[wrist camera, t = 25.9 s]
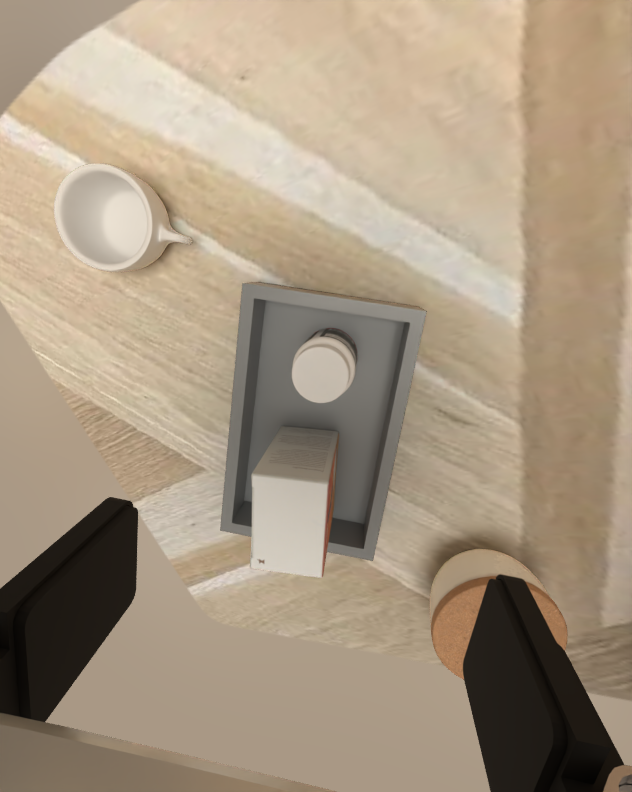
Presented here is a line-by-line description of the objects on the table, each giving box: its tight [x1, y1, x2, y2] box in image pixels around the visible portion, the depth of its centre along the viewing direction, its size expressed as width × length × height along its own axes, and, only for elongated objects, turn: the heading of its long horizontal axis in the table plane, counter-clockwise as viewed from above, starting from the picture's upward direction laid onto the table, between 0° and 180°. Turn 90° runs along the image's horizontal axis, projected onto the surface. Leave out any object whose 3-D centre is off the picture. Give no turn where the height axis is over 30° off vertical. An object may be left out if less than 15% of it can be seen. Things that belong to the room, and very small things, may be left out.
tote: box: [220, 282, 427, 561], centre depth 37 cm, size 14×22×5 cm, turn 172°
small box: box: [250, 426, 339, 578], centre depth 35 cm, size 8×6×10 cm
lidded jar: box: [429, 549, 568, 680], centre depth 38 cm, size 11×11×9 cm
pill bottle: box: [292, 328, 358, 403], centre depth 33 cm, size 5×5×8 cm
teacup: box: [54, 163, 192, 272], centre depth 34 cm, size 10×8×5 cm
